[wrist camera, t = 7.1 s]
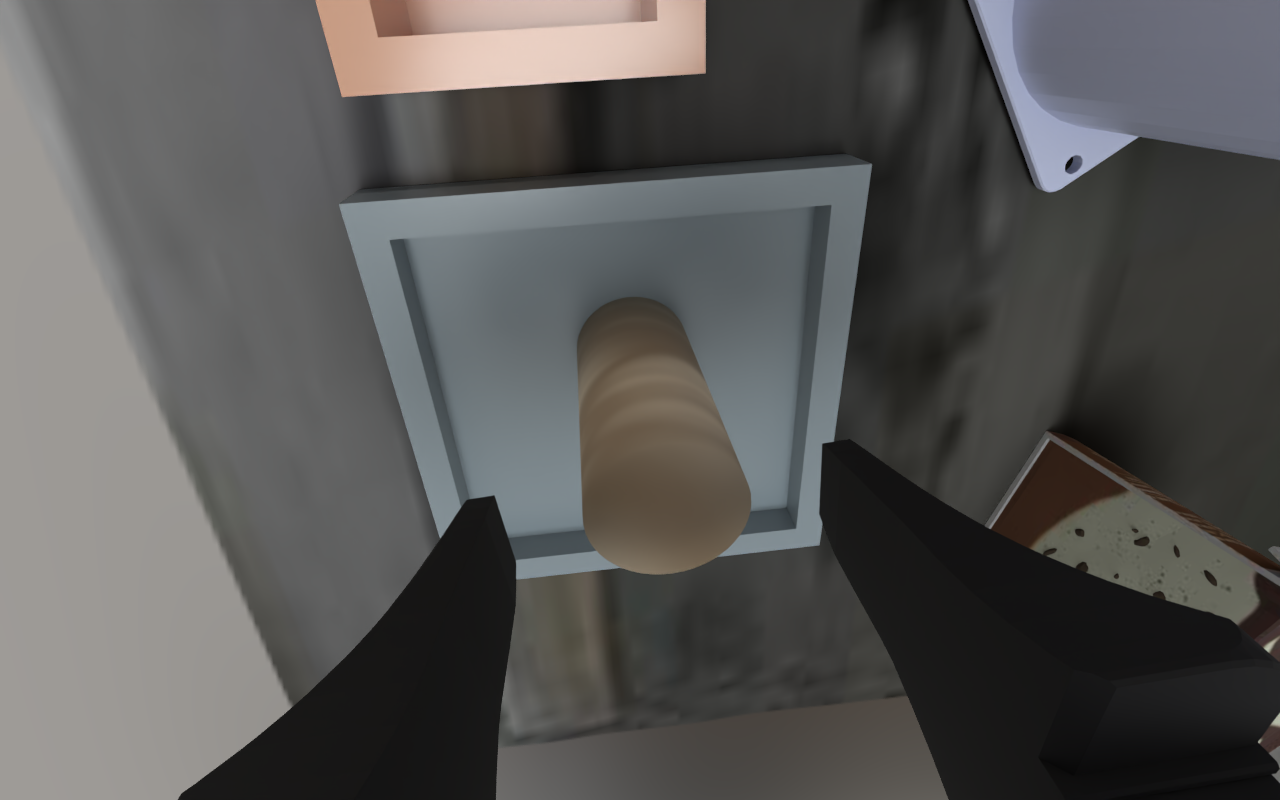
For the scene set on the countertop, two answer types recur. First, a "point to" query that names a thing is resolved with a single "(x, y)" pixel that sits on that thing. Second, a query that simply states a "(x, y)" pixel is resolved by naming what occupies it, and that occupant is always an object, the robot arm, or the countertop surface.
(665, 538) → the beech dowel
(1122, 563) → the food container
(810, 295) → the slate tray
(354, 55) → the terracotta square open box
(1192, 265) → the countertop surface
